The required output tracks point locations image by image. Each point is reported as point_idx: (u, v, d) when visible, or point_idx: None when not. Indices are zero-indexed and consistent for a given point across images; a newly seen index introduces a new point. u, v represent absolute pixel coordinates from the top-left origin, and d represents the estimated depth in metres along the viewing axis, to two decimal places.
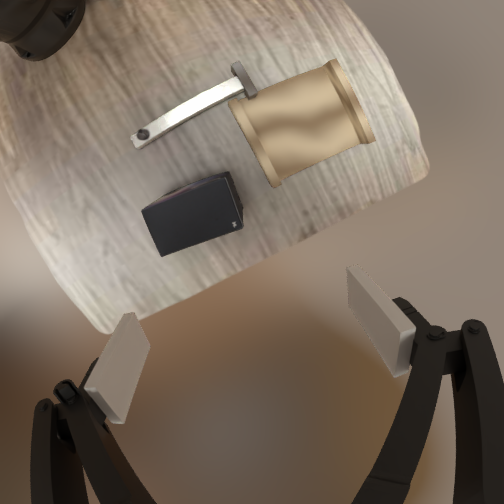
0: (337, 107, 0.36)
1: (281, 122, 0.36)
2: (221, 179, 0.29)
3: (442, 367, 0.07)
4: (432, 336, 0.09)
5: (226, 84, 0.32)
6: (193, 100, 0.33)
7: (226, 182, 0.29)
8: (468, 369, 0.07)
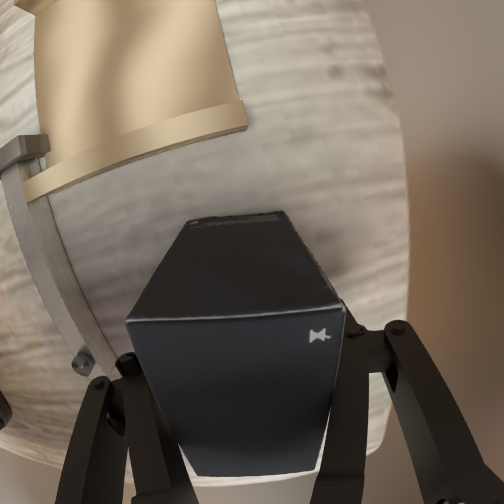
0: None
1: (104, 83, 0.13)
2: (131, 333, 0.07)
3: (367, 361, 0.09)
4: (351, 334, 0.10)
5: (9, 196, 0.13)
6: (31, 264, 0.14)
7: (143, 322, 0.07)
8: (400, 370, 0.08)
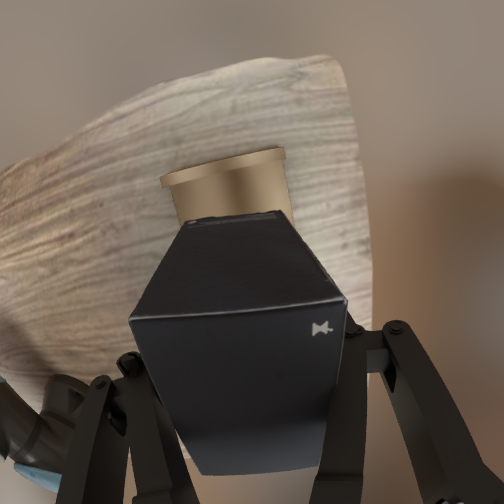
0: (227, 178, 0.31)
1: None
2: (135, 331, 0.07)
3: (365, 361, 0.09)
4: (349, 334, 0.10)
5: None
6: None
7: (146, 319, 0.07)
8: (398, 371, 0.08)
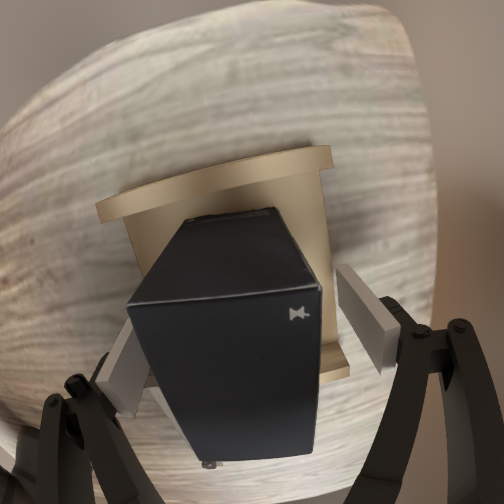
0: (221, 200, 0.17)
1: None
2: (131, 317, 0.08)
3: (428, 365, 0.08)
4: (417, 335, 0.09)
5: (155, 391, 0.20)
6: (176, 423, 0.22)
7: (141, 305, 0.08)
8: (455, 368, 0.07)
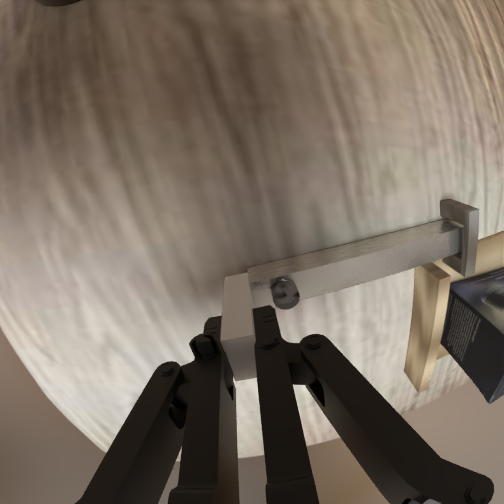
0: None
1: None
2: None
3: (287, 369, 0.10)
4: (266, 346, 0.11)
5: (448, 237, 0.17)
6: (397, 252, 0.17)
7: None
8: (324, 385, 0.09)
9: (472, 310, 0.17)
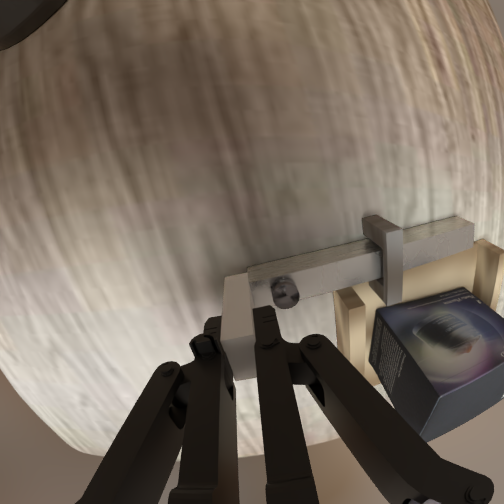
0: None
1: None
2: None
3: (287, 369, 0.10)
4: (266, 346, 0.11)
5: (448, 237, 0.17)
6: None
7: None
8: (324, 385, 0.09)
9: (398, 343, 0.17)
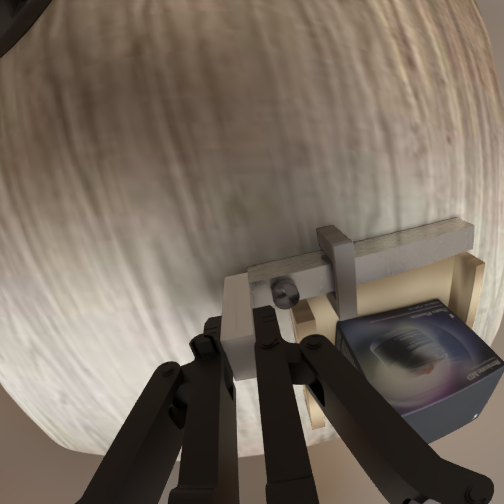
0: None
1: None
2: (503, 367, 0.11)
3: (287, 369, 0.10)
4: (266, 346, 0.11)
5: (448, 239, 0.17)
6: (397, 252, 0.17)
7: (503, 370, 0.12)
8: (324, 385, 0.09)
9: (353, 359, 0.17)
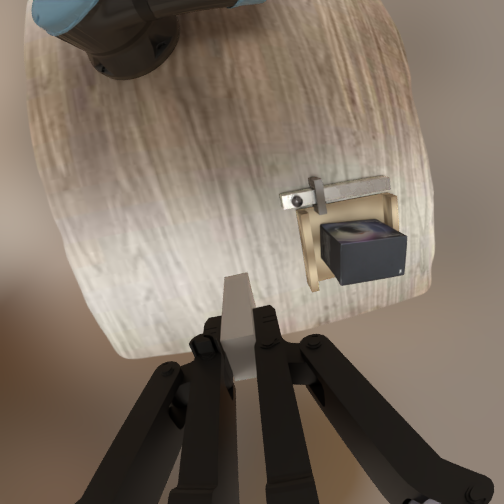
0: None
1: None
2: (404, 236, 0.35)
3: (287, 369, 0.10)
4: (266, 346, 0.11)
5: (373, 182, 0.40)
6: (346, 187, 0.40)
7: (406, 239, 0.35)
8: (324, 385, 0.09)
9: (327, 233, 0.40)
